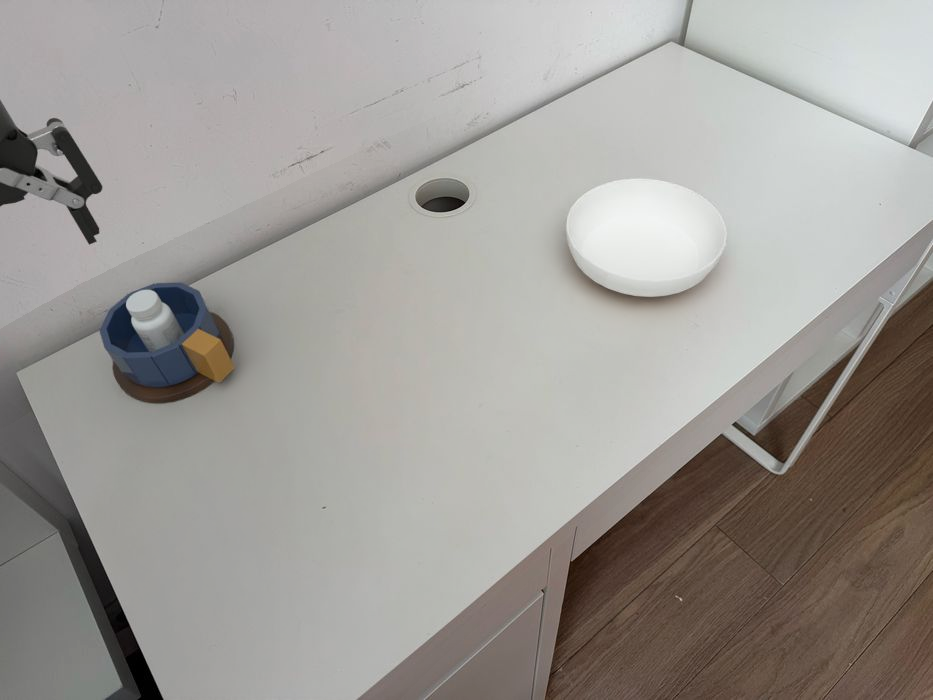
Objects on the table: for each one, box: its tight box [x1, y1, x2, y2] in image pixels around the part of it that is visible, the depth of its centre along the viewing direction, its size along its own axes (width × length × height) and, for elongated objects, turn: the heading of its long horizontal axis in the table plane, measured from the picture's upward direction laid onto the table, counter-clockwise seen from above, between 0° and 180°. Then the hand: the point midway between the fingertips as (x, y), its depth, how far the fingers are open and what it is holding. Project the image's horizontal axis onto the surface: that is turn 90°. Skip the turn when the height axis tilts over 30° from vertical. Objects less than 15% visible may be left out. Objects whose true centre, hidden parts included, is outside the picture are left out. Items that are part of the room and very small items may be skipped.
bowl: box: [565, 177, 728, 298], centre depth 87 cm, size 20×20×6 cm
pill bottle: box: [126, 290, 184, 352], centre depth 79 cm, size 4×4×8 cm
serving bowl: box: [99, 281, 235, 387], centre depth 80 cm, size 15×12×5 cm
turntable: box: [112, 311, 235, 404], centre depth 83 cm, size 14×14×1 cm
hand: (41, 258), depth 59 cm, fingers open, 8 cm apart
